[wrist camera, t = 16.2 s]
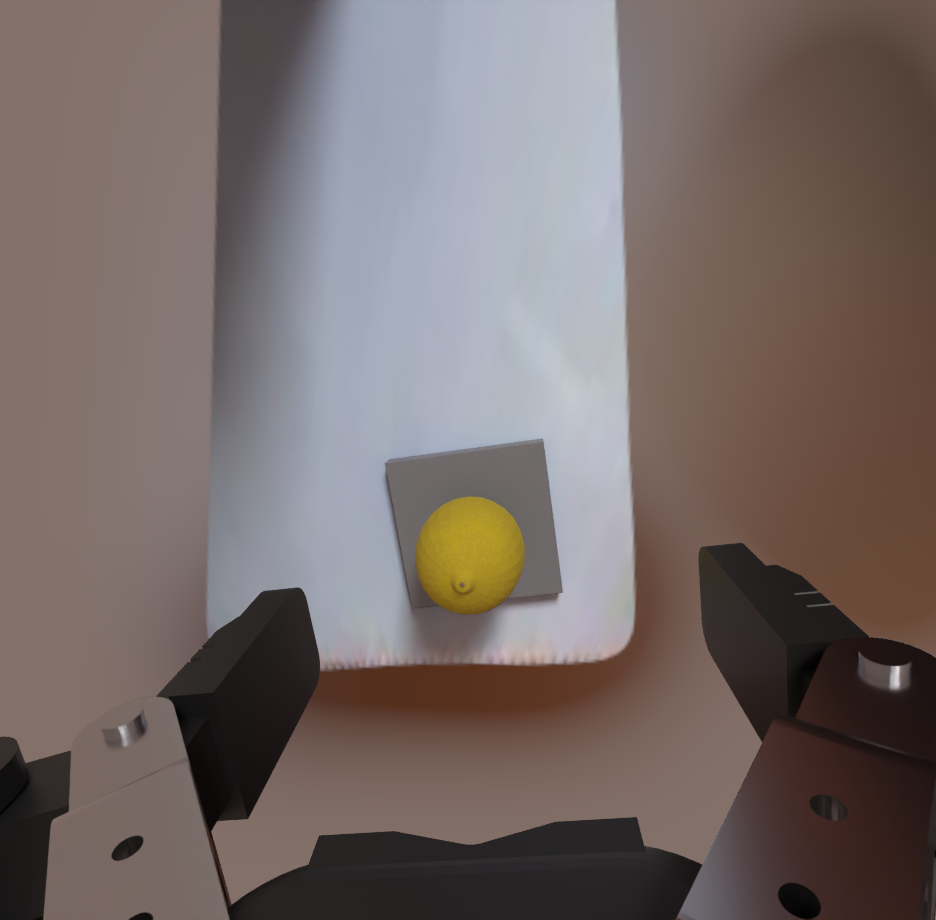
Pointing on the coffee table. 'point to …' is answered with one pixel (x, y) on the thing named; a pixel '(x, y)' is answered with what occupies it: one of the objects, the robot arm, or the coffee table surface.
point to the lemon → (469, 555)
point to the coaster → (488, 476)
